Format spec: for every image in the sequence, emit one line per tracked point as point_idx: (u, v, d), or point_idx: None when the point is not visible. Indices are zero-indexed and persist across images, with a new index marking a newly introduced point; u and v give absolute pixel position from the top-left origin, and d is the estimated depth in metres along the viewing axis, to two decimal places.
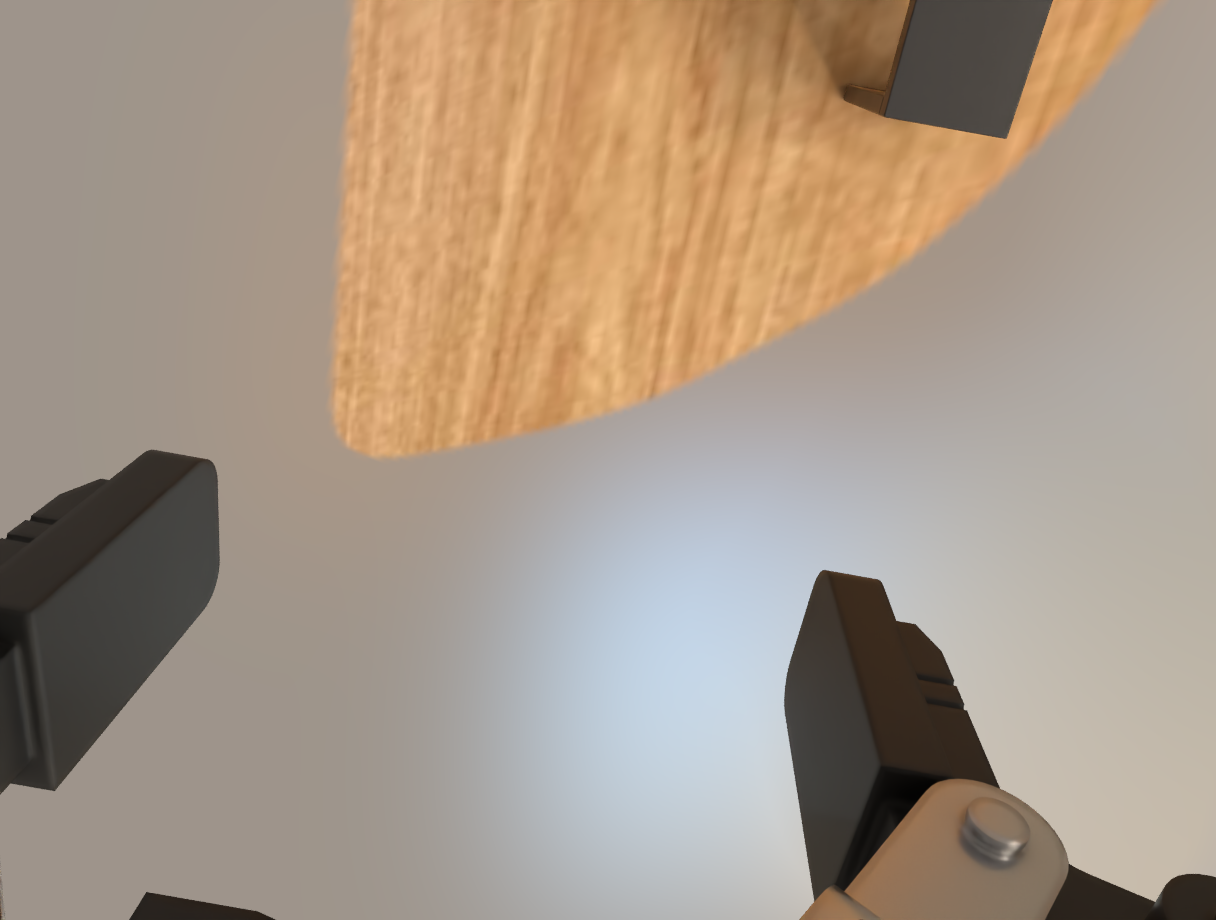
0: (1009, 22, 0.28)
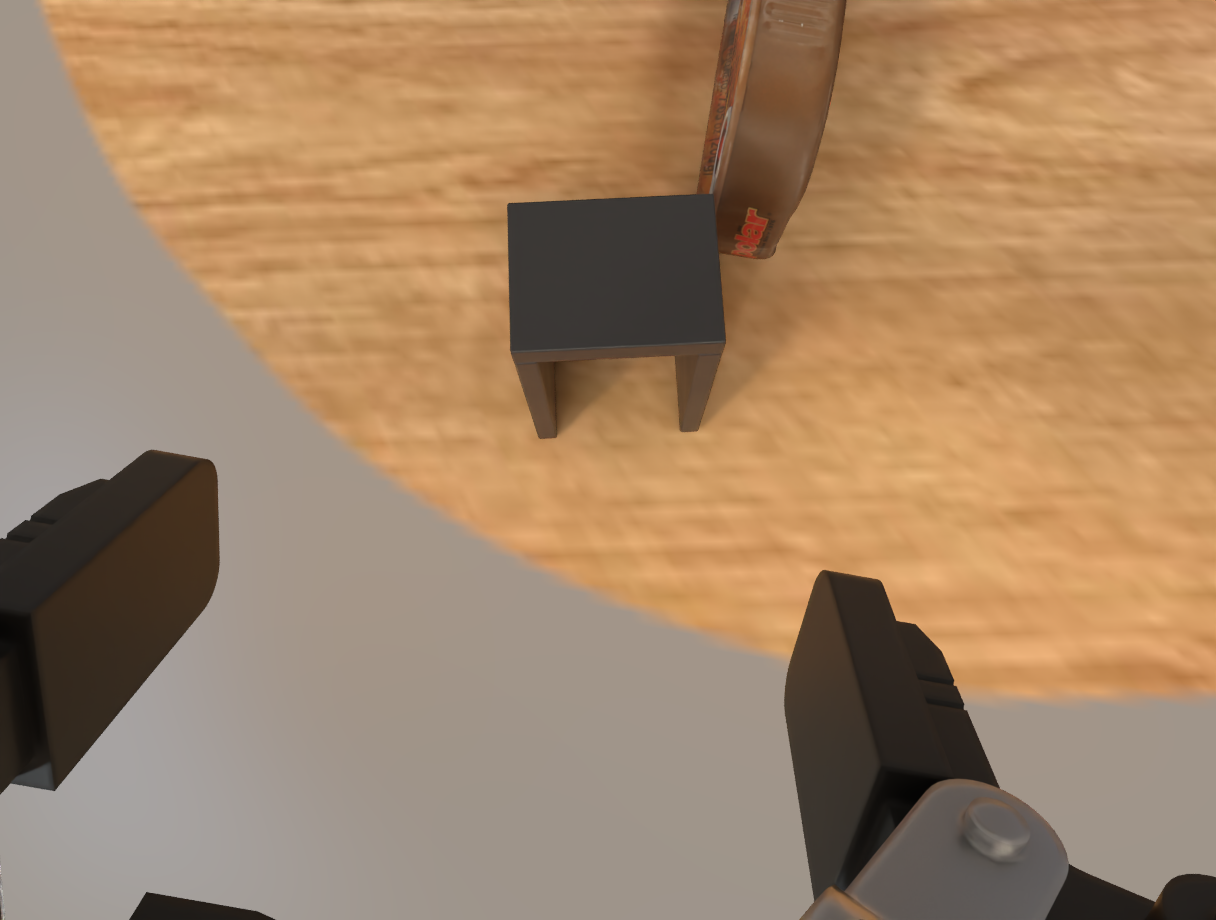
0: (641, 305, 0.22)
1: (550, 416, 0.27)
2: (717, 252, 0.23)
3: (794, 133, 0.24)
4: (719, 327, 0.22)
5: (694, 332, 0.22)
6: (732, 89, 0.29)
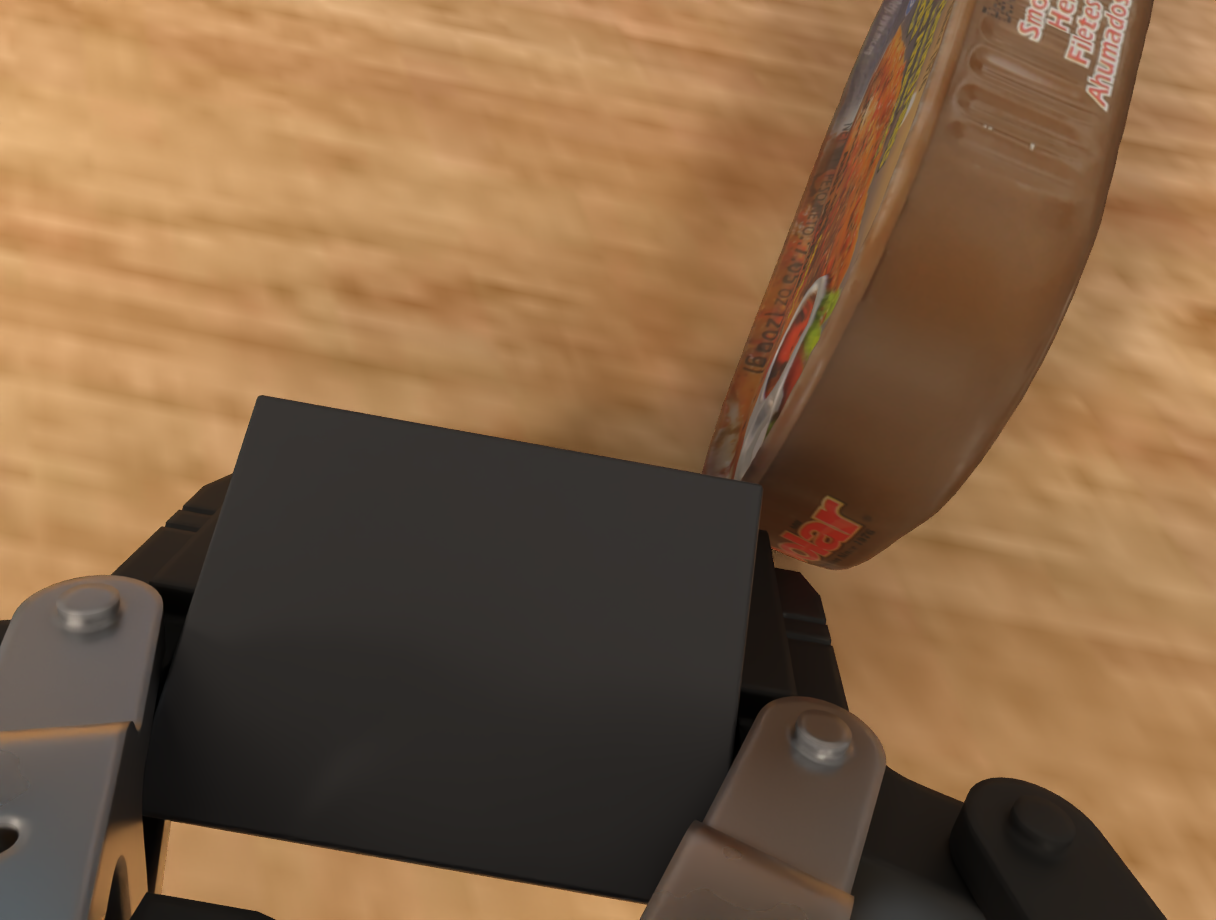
0: (514, 749, 0.08)
1: None
2: (742, 645, 0.09)
3: (967, 375, 0.11)
4: None
5: (635, 866, 0.08)
6: (828, 241, 0.16)
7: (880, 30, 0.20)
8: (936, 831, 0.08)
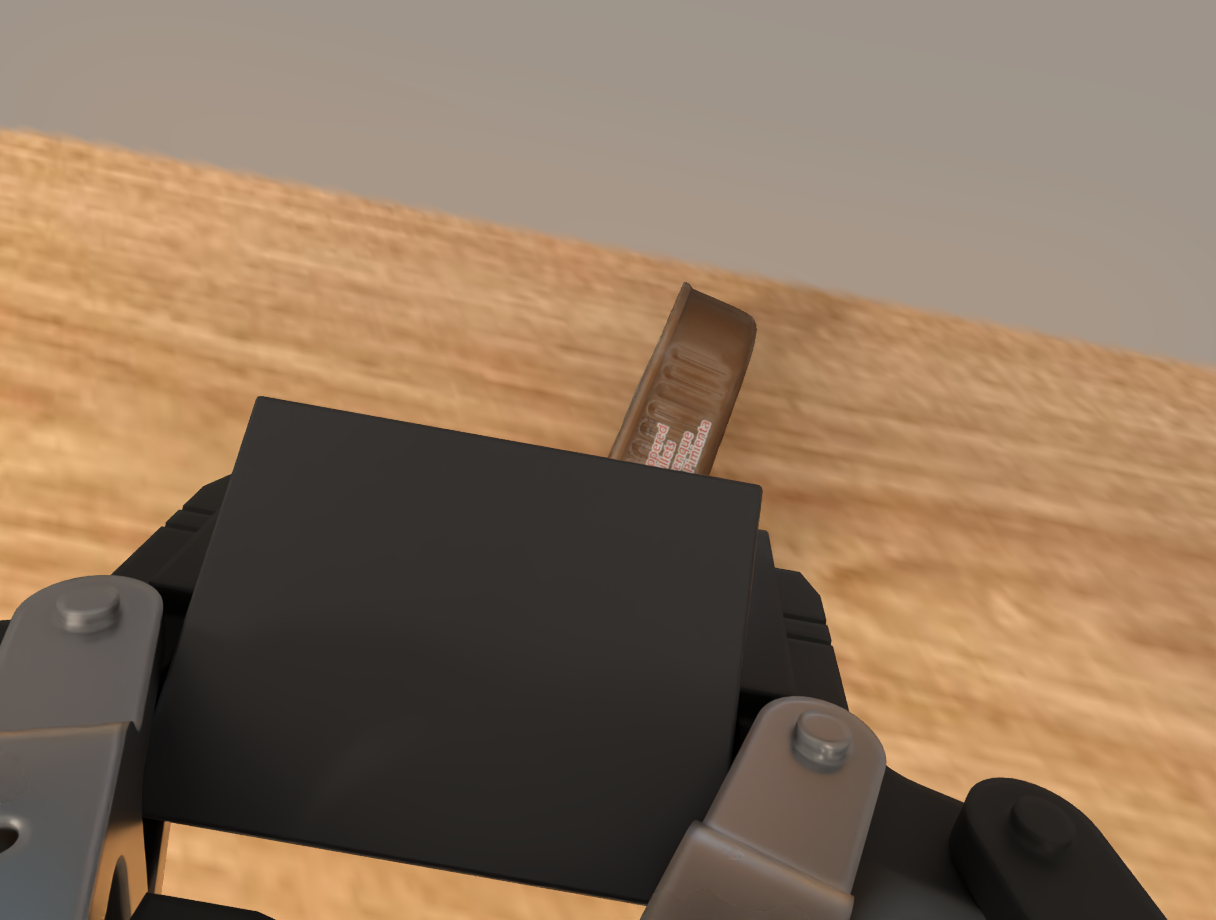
0: (513, 751, 0.08)
1: None
2: (742, 646, 0.09)
3: None
4: None
5: (634, 868, 0.08)
6: None
7: None
8: (936, 831, 0.08)
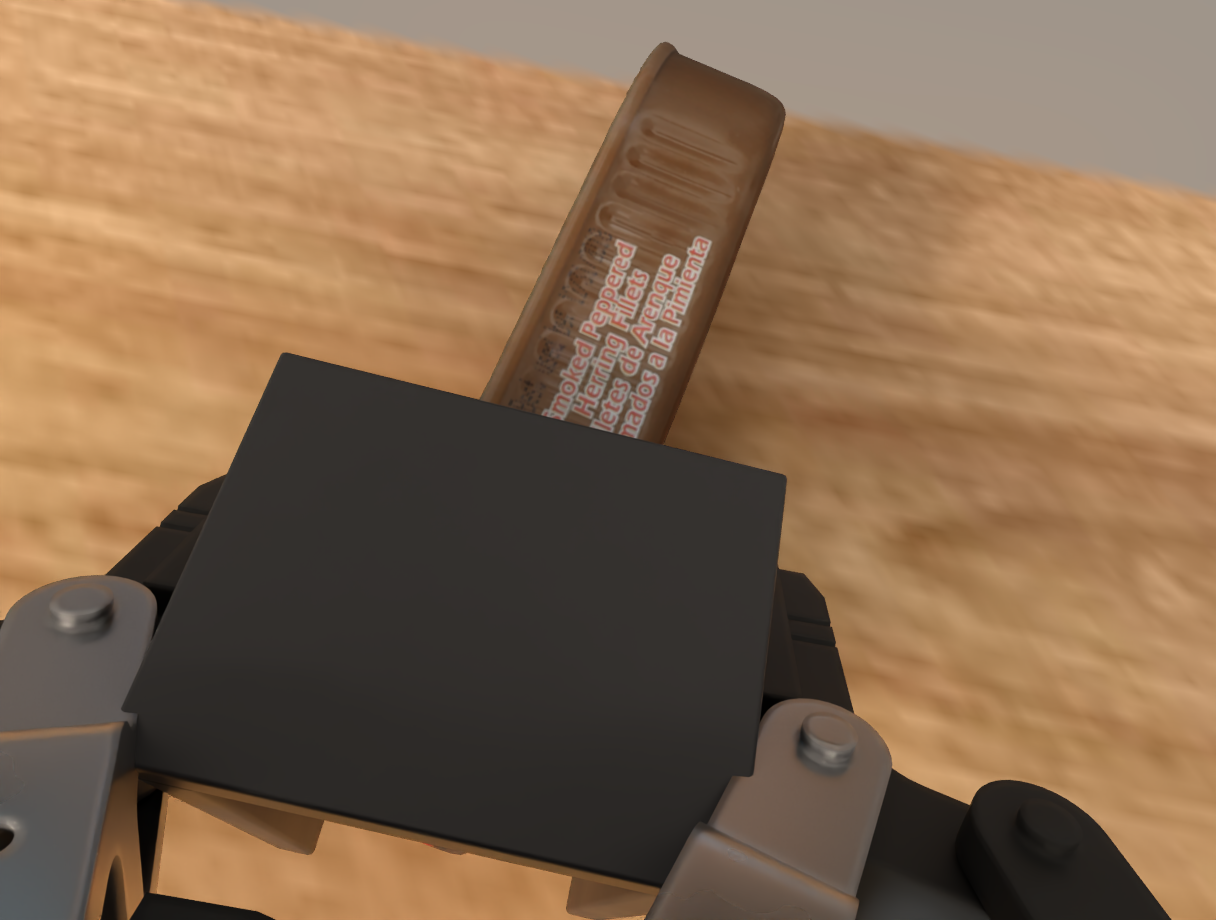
0: (530, 718, 0.08)
1: (285, 839, 0.12)
2: (767, 627, 0.08)
3: None
4: None
5: (655, 847, 0.07)
6: None
7: None
8: (942, 834, 0.08)
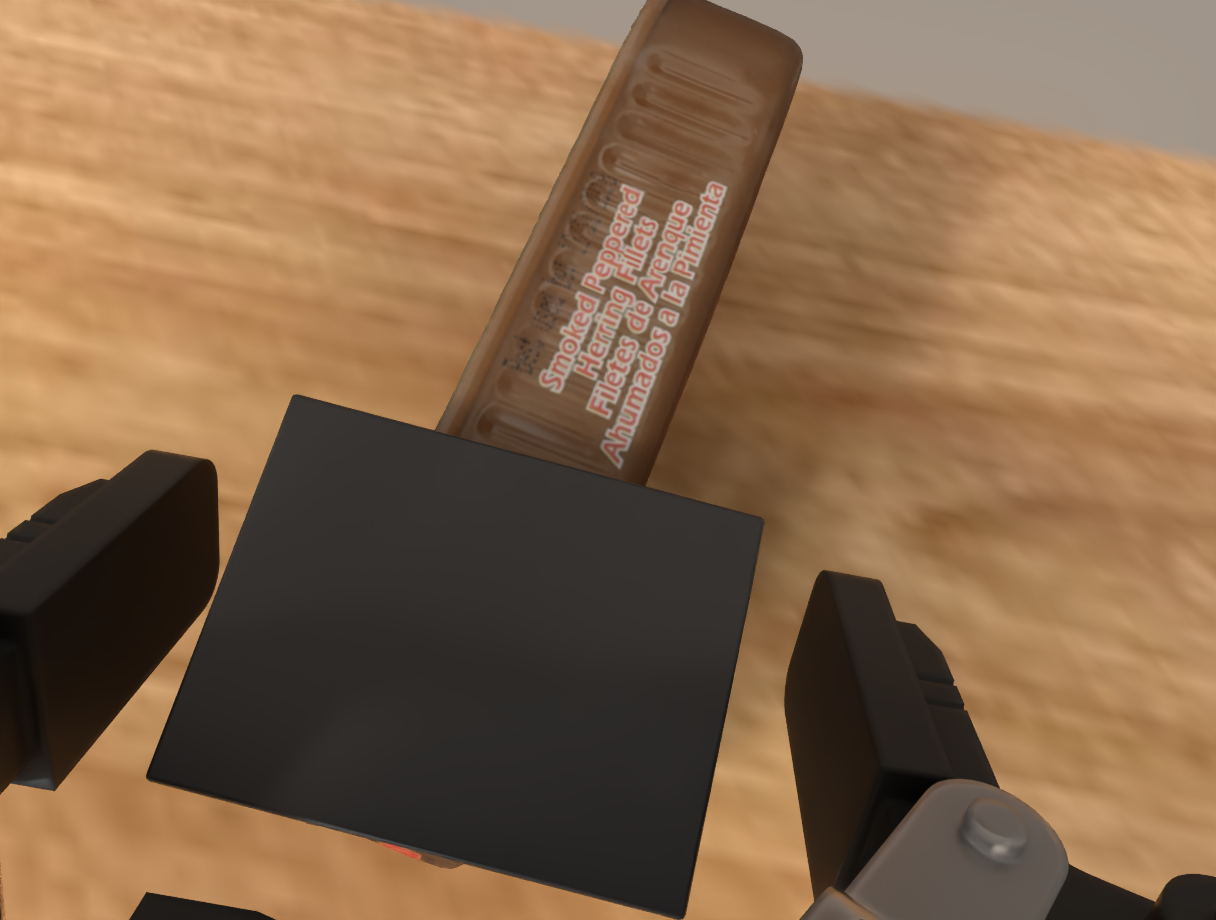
0: (510, 751, 0.09)
1: None
2: (732, 670, 0.09)
3: None
4: (680, 872, 0.09)
5: (614, 869, 0.09)
6: None
7: None
8: None
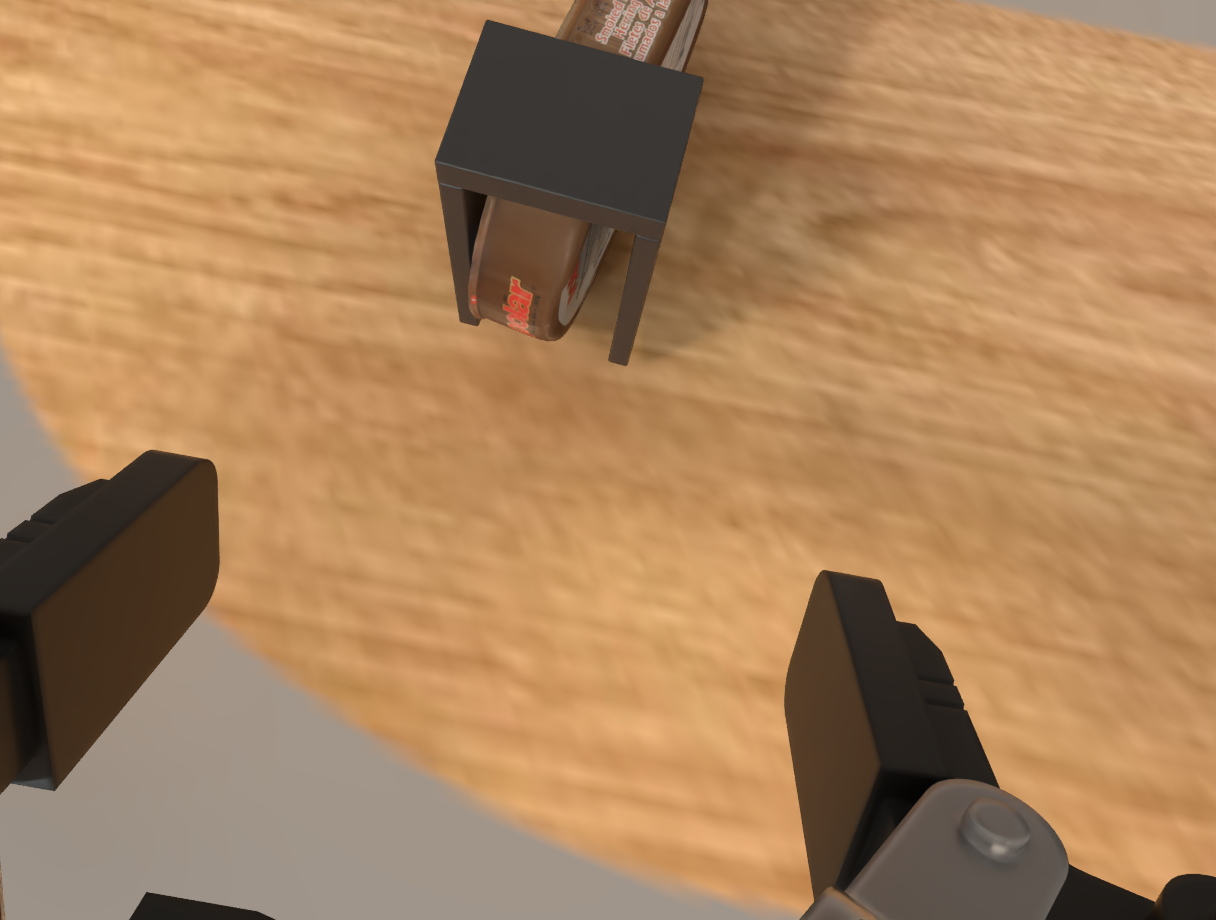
0: (590, 159, 0.20)
1: None
2: (687, 135, 0.21)
3: None
4: (664, 207, 0.20)
5: (635, 203, 0.20)
6: None
7: None
8: None
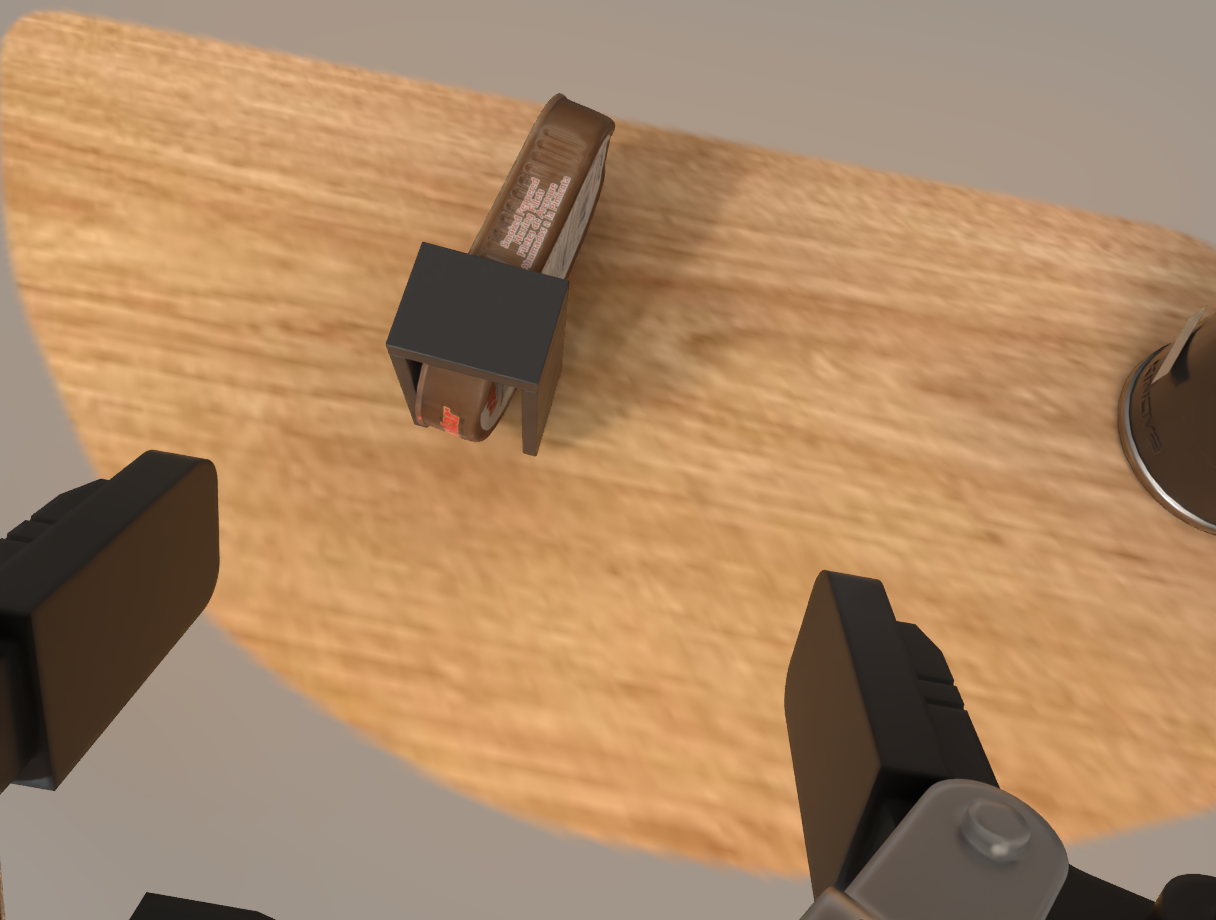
0: (489, 341, 0.30)
1: None
2: (555, 322, 0.31)
3: None
4: (537, 373, 0.30)
5: (518, 371, 0.30)
6: None
7: None
8: None
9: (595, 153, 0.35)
